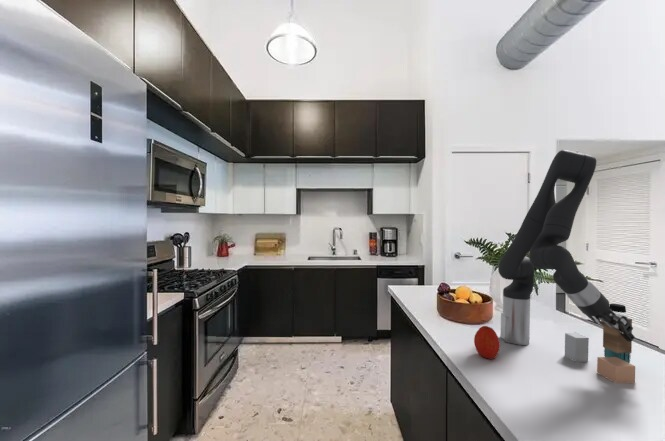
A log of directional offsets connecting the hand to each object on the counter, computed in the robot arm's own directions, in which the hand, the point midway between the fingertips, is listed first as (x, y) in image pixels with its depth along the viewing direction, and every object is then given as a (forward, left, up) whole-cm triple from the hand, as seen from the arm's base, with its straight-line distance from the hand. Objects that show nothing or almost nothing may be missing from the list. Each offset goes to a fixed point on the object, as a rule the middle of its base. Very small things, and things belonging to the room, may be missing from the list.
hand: (622, 336), depth 94 cm
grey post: (-7, +12, -13) cm, 18 cm away
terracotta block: (-2, 0, -13) cm, 13 cm away
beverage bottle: (+4, +9, -13) cm, 16 cm away
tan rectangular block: (-2, -1, -4) cm, 5 cm away
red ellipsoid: (-37, +5, -13) cm, 39 cm away
